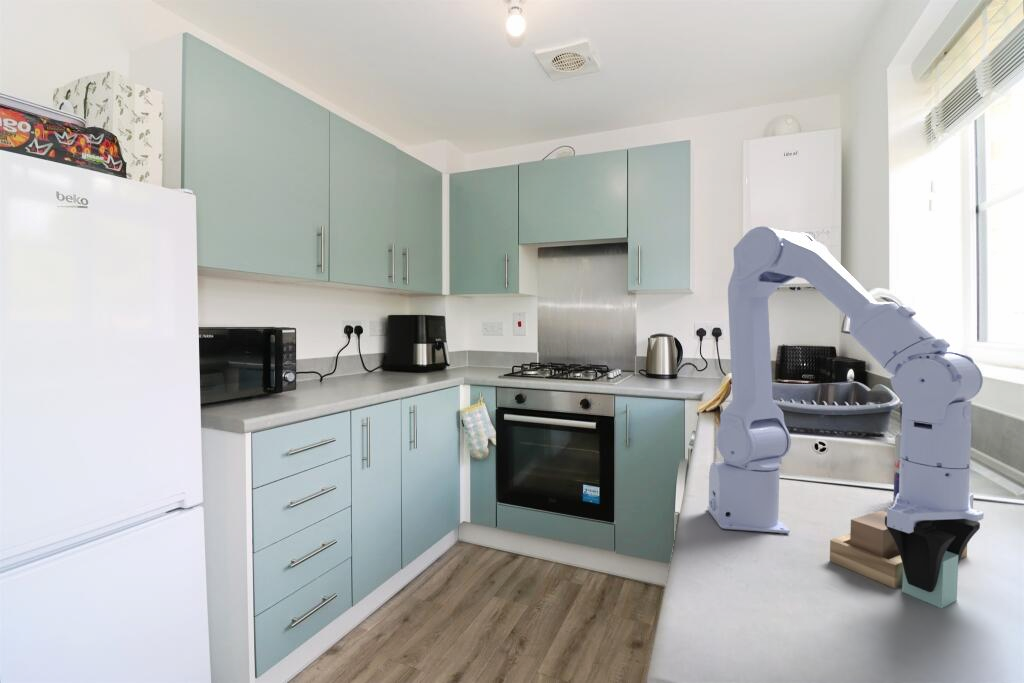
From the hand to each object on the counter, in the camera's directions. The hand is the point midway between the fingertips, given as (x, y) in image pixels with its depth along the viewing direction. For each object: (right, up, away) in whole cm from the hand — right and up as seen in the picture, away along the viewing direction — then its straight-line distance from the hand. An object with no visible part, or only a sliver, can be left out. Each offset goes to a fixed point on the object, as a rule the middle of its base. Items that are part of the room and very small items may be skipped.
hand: (929, 582), depth 52 cm
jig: (+4, -1, +9) cm, 9 cm away
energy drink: (+22, -1, +27) cm, 35 cm away
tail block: (0, -1, 0) cm, 1 cm away
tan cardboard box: (0, 0, +7) cm, 7 cm away
